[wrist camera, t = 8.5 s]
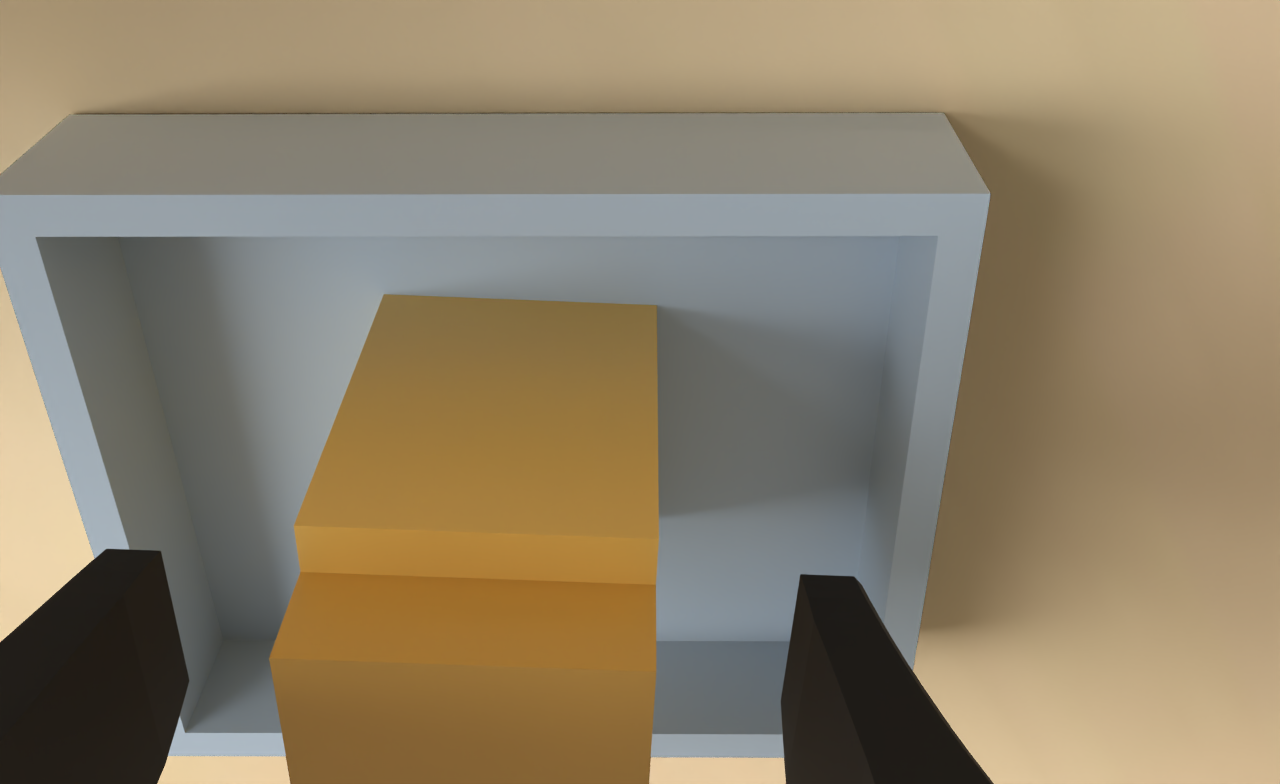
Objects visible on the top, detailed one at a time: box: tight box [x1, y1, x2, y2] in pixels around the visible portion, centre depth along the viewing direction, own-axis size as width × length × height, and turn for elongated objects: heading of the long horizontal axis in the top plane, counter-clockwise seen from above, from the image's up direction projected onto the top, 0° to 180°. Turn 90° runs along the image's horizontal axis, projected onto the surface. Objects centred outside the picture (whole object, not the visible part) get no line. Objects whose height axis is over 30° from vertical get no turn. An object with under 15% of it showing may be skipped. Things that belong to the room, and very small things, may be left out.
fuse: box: [269, 294, 659, 784], centre depth 14 cm, size 4×4×6 cm
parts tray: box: [0, 113, 991, 758], centre depth 17 cm, size 11×9×2 cm
